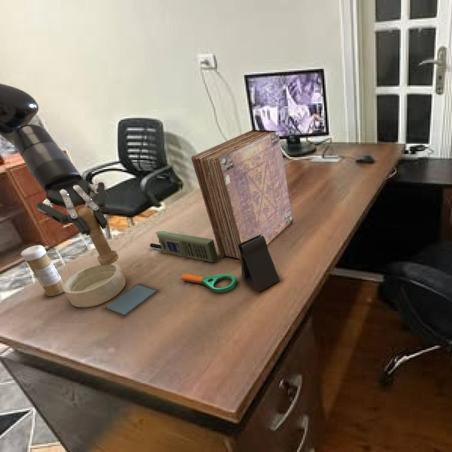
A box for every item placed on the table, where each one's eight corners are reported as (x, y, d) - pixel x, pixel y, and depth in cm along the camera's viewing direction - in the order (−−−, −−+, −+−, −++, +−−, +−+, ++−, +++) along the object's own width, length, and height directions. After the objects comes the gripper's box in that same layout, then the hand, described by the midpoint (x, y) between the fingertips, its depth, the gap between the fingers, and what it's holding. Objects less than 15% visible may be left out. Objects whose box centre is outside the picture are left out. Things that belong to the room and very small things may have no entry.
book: (246, 263, 96) (218, 159, 82) (220, 257, 100) (189, 157, 85) (293, 220, 116) (278, 130, 101) (270, 216, 120) (252, 129, 105)
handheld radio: (212, 264, 98) (148, 251, 107) (220, 258, 100) (156, 246, 110) (207, 243, 95) (140, 232, 104) (215, 237, 97) (149, 227, 107)
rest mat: (125, 315, 82) (124, 314, 82) (106, 308, 85) (105, 307, 85) (156, 291, 89) (156, 290, 89) (138, 285, 92) (137, 284, 92)
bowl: (91, 314, 84) (82, 298, 81) (61, 301, 89) (52, 286, 87) (136, 282, 93) (129, 267, 91) (107, 273, 99) (100, 258, 96)
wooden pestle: (106, 267, 80) (79, 213, 73) (96, 263, 81) (68, 210, 74) (122, 257, 83) (97, 204, 76) (111, 254, 84) (86, 202, 77)
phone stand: (280, 281, 88) (271, 241, 82) (259, 293, 85) (248, 252, 79) (262, 267, 94) (253, 228, 88) (242, 277, 91) (231, 238, 85)
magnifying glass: (241, 279, 90) (239, 274, 89) (228, 294, 85) (226, 289, 85) (192, 273, 95) (190, 268, 94) (177, 287, 90) (175, 282, 89)
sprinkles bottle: (49, 289, 94) (23, 248, 88) (68, 283, 96) (44, 242, 89) (45, 299, 91) (17, 256, 84) (65, 293, 92) (40, 250, 86)
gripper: (10, 169, 70) (58, 237, 69) (85, 149, 79) (129, 209, 78) (17, 188, 76) (62, 252, 75) (87, 167, 85) (128, 224, 84)
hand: (96, 229), depth 76 cm, fingers closed on wooden pestle, 2 cm apart
